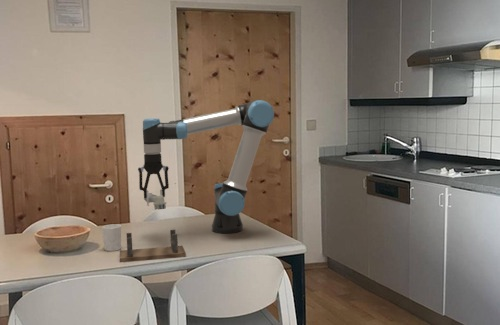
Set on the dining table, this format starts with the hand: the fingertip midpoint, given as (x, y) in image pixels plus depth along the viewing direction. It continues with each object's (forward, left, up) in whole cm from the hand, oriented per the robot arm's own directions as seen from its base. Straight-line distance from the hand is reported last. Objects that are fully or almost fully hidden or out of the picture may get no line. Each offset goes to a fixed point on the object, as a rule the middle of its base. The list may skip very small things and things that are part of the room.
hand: (154, 204), depth 247 cm
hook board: (+3, +23, -17) cm, 29 cm away
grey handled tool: (0, 0, -1) cm, 1 cm away
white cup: (+19, +8, -17) cm, 27 cm away
